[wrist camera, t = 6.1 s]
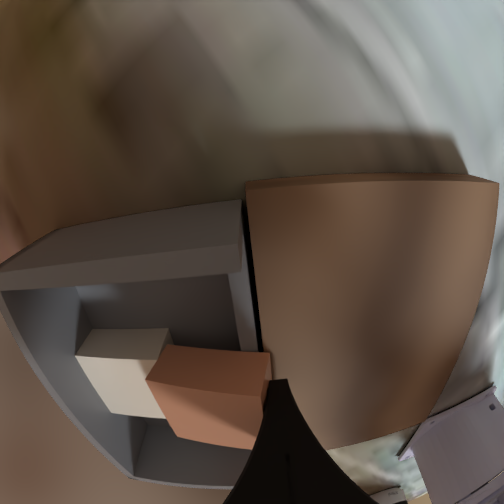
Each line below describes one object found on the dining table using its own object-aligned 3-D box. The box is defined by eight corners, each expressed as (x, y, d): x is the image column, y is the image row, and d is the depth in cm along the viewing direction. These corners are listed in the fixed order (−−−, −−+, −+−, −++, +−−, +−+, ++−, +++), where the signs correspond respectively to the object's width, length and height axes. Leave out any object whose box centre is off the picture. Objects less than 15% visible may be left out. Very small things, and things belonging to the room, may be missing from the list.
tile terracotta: (269, 352, 9) (260, 396, 7) (275, 414, 11) (268, 451, 9) (167, 344, 10) (144, 379, 8) (191, 404, 12) (177, 436, 10)
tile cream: (168, 328, 11) (157, 359, 9) (190, 388, 12) (184, 419, 11) (92, 328, 11) (74, 355, 9) (122, 386, 13) (111, 412, 11)
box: (241, 199, 9) (237, 244, 5) (269, 424, 14) (274, 487, 10) (53, 230, 10) (-15, 274, 6) (143, 424, 15) (129, 478, 10)
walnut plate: (469, 174, 9) (499, 183, 7) (414, 401, 15) (424, 421, 13) (245, 181, 9) (245, 190, 7) (273, 432, 15) (275, 457, 13)
